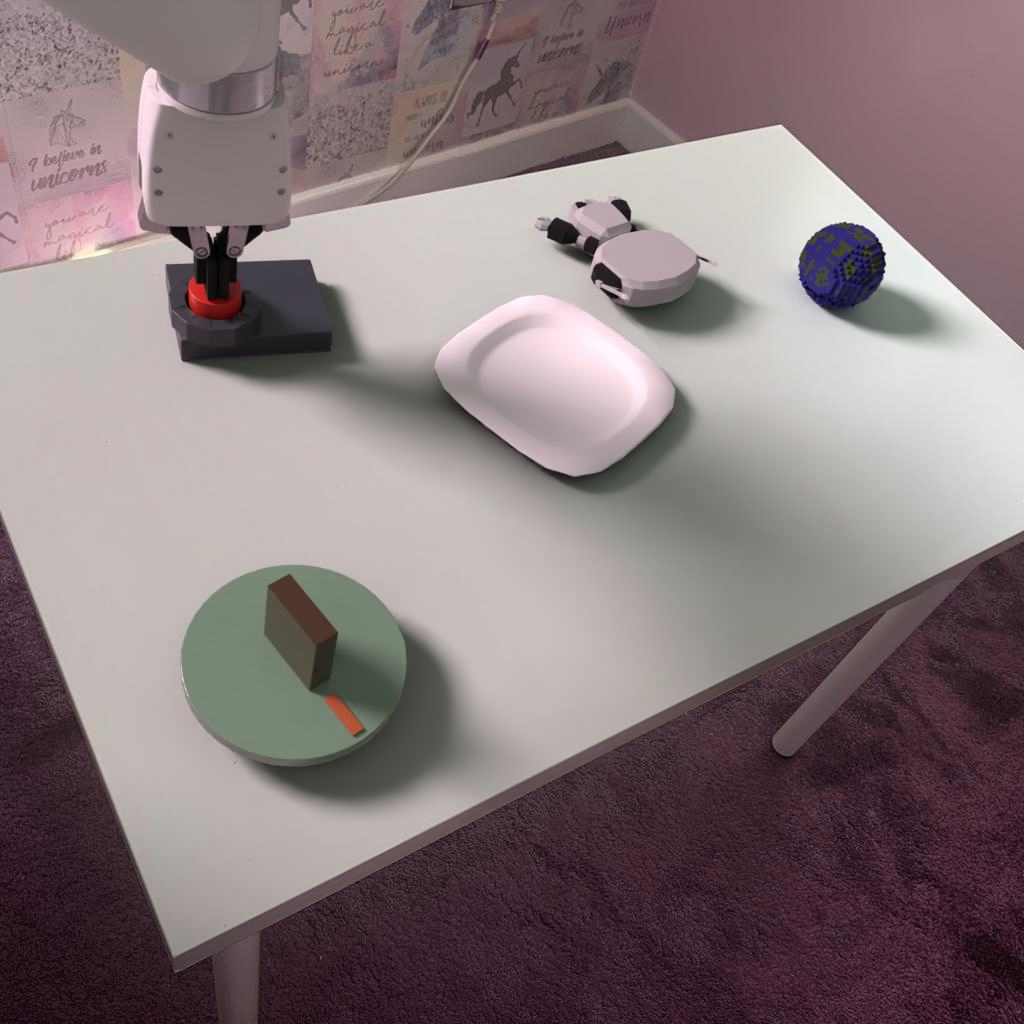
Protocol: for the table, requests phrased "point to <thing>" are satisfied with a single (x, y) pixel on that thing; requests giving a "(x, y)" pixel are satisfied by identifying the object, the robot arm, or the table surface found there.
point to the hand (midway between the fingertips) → (214, 287)
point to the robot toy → (626, 253)
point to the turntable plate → (269, 687)
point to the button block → (254, 313)
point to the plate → (556, 384)
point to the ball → (842, 265)
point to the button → (215, 302)
